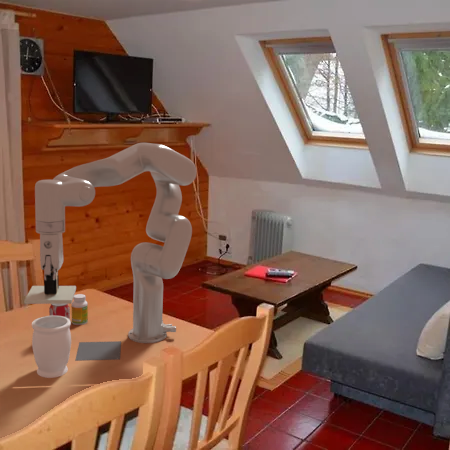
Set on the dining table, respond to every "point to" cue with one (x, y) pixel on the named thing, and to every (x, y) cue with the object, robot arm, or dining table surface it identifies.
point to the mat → (98, 351)
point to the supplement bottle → (79, 310)
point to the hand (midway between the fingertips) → (51, 290)
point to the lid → (61, 297)
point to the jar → (51, 345)
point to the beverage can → (60, 310)
